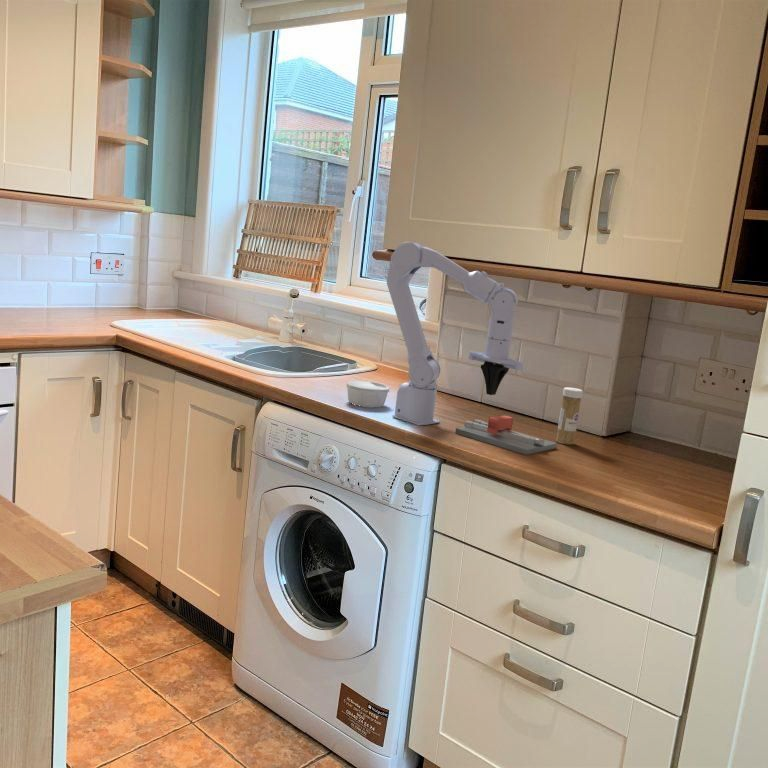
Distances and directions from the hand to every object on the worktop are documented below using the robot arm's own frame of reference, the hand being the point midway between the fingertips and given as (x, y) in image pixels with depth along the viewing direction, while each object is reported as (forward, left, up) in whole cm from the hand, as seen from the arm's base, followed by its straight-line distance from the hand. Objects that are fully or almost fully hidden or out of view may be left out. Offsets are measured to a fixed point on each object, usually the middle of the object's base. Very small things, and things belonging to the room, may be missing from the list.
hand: (490, 394), depth 196 cm
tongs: (+7, -2, -8) cm, 11 cm away
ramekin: (-34, -7, -10) cm, 36 cm away
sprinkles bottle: (+15, +12, -10) cm, 22 cm away
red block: (+5, -2, -8) cm, 10 cm away
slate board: (+7, -2, -10) cm, 12 cm away
